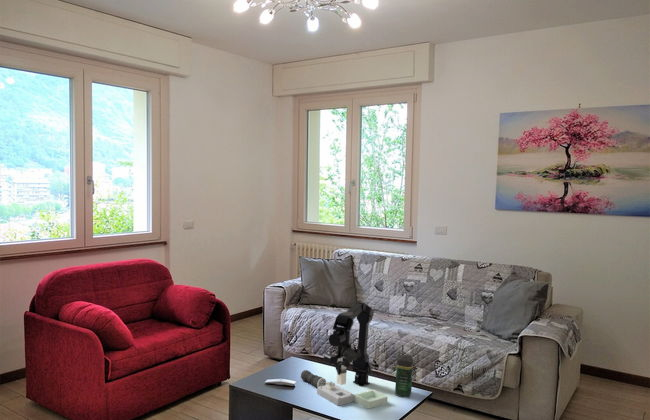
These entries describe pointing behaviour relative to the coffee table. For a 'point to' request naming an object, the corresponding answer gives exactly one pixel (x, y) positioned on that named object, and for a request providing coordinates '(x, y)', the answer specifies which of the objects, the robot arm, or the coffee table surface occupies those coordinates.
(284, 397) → the coffee table surface
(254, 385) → the coffee table surface
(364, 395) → the parts tray
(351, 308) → the robot arm
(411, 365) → the coffee jar
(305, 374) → the flashlight
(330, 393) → the fuse block
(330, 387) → the block
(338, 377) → the block
